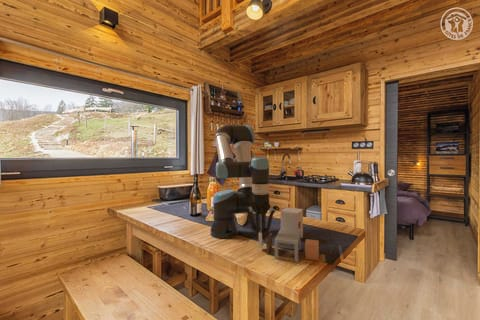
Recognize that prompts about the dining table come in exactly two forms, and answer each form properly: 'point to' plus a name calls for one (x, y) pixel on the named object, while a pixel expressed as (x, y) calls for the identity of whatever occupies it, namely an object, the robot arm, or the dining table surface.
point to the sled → (288, 251)
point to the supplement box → (292, 219)
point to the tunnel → (288, 241)
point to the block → (312, 249)
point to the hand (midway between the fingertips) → (261, 246)
